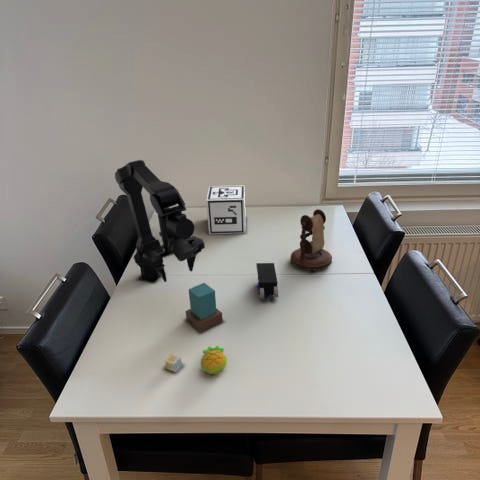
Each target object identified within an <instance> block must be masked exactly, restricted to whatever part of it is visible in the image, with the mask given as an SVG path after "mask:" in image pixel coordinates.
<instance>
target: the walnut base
mask: <svg viewBox="0 0 480 480" xmlns="http://www.w3.org/2000/svg"><path fill="white" fill-rule="evenodd" d="M185 319H186V321H187V322H188V323H189V324H190V325H191V326H192V327H193V328H195V329H196V330H197V331H198V332H199V333H200V334H202V333H204V332H206V331H207V330H210V329H212V328H214V327H216V326H218V325H219V324H221V323H223V322H224V320H223V312H222V311H221V310H219V309H218V308H217V307H216V313H214V314H212V315H210V316H208V317H206V318H204V319H202V320H201V319H199V318H198V317H197V316H196V315H195V314H194V313H192V312H191V308H189V309H186V310H185Z"/></svg>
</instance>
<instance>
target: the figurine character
mask: <svg viewBox="0 0 480 480" xmlns="http://www.w3.org/2000/svg"><path fill="white" fill-rule="evenodd" d="M255 265H256V272H257V286H256V288H257V290H258V296H259V300H262V302H266V297H270V299H271V301H272V302H274V301H275V298H277V299H278V298H279V287H278V283H279V282H278V277H277V272H276V271H277V270H276V267H275V266H276V265H275V262H256V264H255Z"/></svg>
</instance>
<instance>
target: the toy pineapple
mask: <svg viewBox="0 0 480 480" xmlns="http://www.w3.org/2000/svg"><path fill="white" fill-rule="evenodd" d="M224 351H225V348H224V347H220V346H219V345H216V346H215V347H212V346H208V347H207V349H203V350H202V353H203V354H204V355H203V356H202V357H201V359H200V367H201V369H202V370H203V371H204V372H206V373H207V374H210V375H216V374H219V373H221V372H222V371H223V370H224V369H225V367H226V366H227V361H228V360H227V356H226V355H225V354H224V353H223V352H224Z"/></svg>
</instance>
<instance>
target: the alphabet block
mask: <svg viewBox="0 0 480 480" xmlns="http://www.w3.org/2000/svg"><path fill="white" fill-rule="evenodd" d="M164 362H165V363H164V364H165V368H166V369H167V370H169V371H172V372H173V373H177V372H178V371H179V369H181V368H182V366H183V363H182V357H179V356H177V355H175V354H171V355H169V356H168V357H167V358H166V359H165V360H164Z"/></svg>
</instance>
